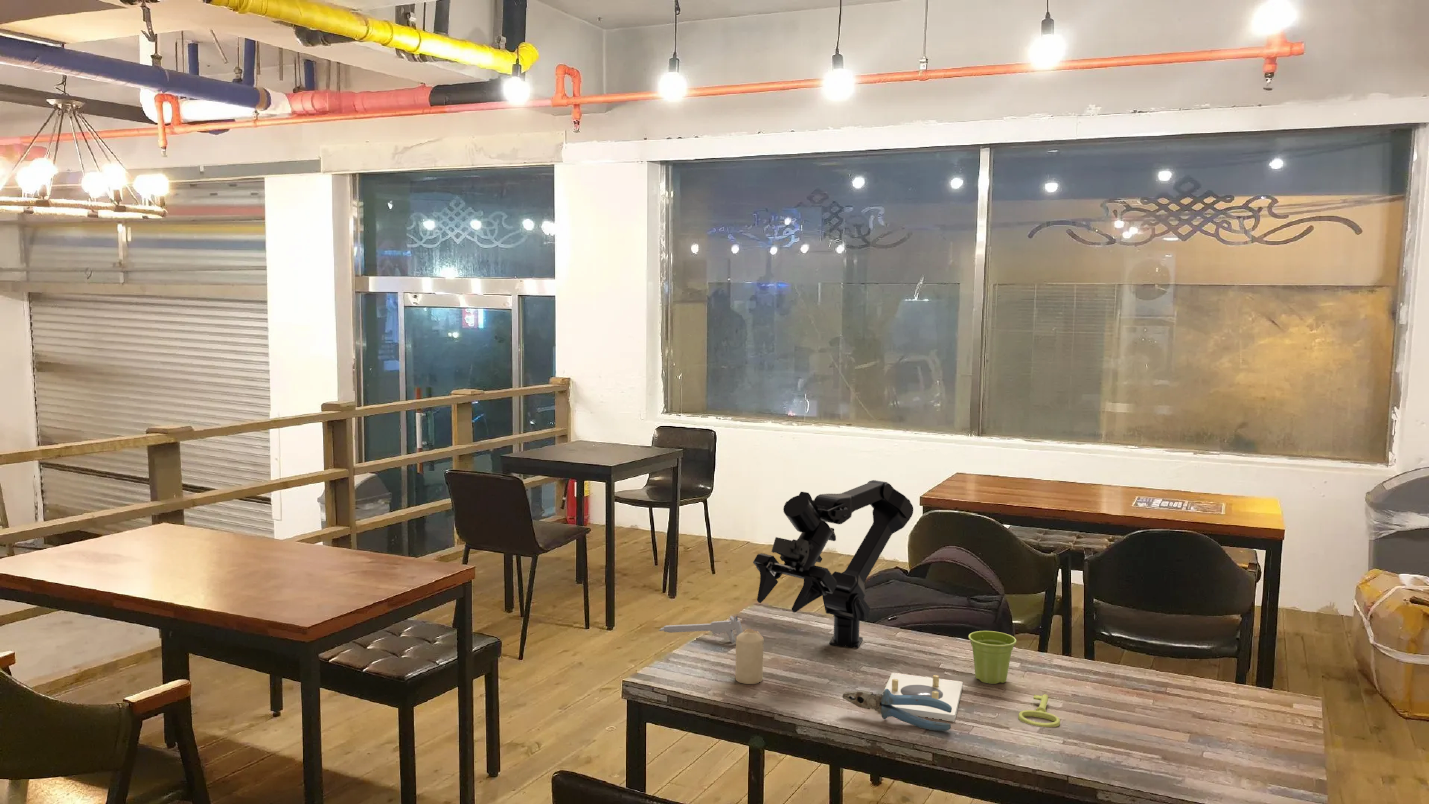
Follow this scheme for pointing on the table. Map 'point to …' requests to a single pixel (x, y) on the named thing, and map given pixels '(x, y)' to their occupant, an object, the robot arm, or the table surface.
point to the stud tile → (927, 694)
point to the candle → (749, 657)
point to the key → (1039, 714)
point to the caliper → (709, 627)
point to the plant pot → (991, 655)
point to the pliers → (885, 707)
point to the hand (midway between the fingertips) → (775, 606)
